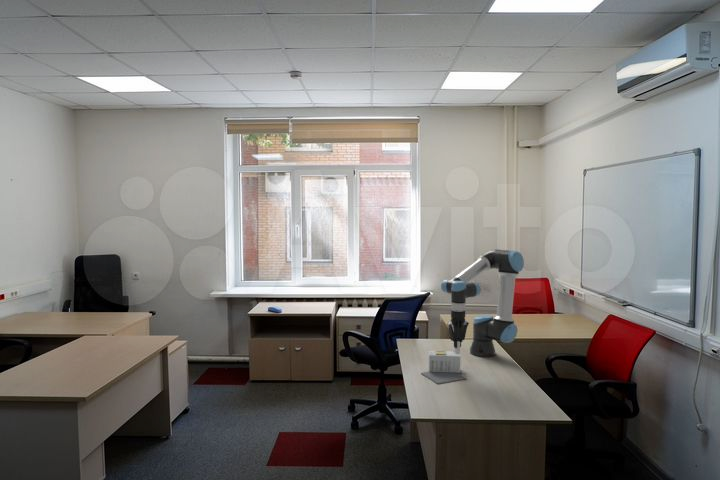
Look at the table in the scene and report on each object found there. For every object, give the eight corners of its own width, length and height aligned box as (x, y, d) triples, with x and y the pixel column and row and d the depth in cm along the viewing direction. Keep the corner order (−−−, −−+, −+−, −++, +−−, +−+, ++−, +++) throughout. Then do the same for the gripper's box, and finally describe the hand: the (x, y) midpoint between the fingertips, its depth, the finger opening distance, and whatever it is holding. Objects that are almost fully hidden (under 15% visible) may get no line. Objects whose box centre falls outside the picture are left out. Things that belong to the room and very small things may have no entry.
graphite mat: (448, 369, 261) (448, 368, 261) (466, 379, 246) (466, 377, 246) (421, 373, 253) (421, 372, 253) (437, 384, 239) (437, 383, 239)
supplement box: (460, 356, 252) (429, 355, 254) (460, 373, 253) (429, 371, 255) (459, 351, 262) (428, 350, 264) (458, 367, 262) (428, 366, 264)
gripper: (463, 307, 257) (462, 350, 258) (443, 309, 251) (443, 352, 253) (472, 310, 250) (471, 353, 252) (452, 312, 245) (451, 356, 246)
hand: (457, 353), depth 252 cm, fingers closed
